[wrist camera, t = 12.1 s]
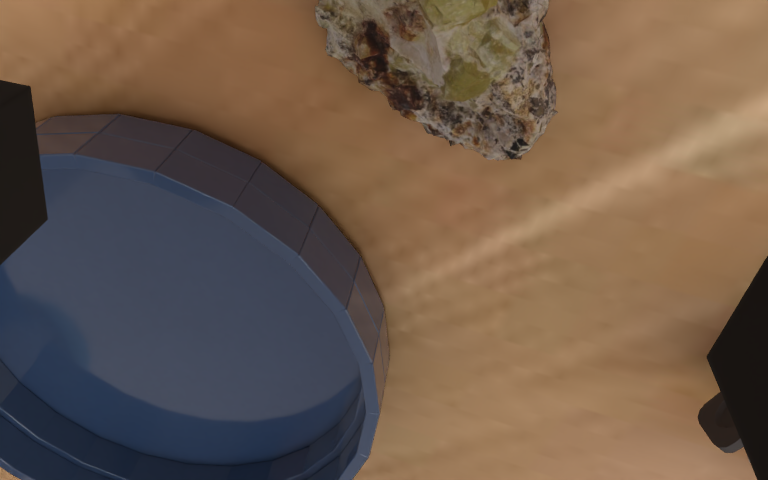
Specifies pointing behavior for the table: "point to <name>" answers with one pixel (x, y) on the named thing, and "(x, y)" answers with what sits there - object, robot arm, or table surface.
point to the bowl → (183, 318)
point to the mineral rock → (452, 65)
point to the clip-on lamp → (719, 425)
